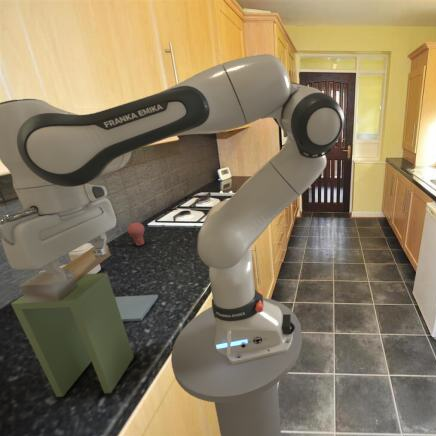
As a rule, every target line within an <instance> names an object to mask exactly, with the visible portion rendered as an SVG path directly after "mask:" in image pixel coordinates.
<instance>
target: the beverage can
mask: <svg viewBox="0 0 436 436" xmlns="http://www.w3.org/2000/svg"><path fill="white" fill-rule="evenodd" d="M94 246H95V245H93V244H92V243H90V242H87V243H85V244H84V245H82V246H80V247H78V248H76V249H75V250H73V251H71V252H69V253H68V256H69V259H70V262H71V261H73V260H74V259H76V258H77V257H79V256H80V255H82V254H83V253H85V252H86V251H88V250H89V249H91V248H92V247H94ZM101 270H102V267H101V263H100V264H99V265H97V266H96V267H95V268H93V269H92V270H91V271H90V272H88V273H87V274H97V273H99V272H100V271H101Z"/></svg>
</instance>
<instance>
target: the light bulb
mask: <svg viewBox="0 0 436 436" xmlns="http://www.w3.org/2000/svg"><path fill="white" fill-rule="evenodd" d="M145 231H146V229H145V225H143V223H141V222H133V223H130V224H129V225H128V226H127V233H128V235H129V236H130V237H131V238H132V239H133V241H134V242H135V245H136V246H143V245H145V239H144V235H145Z"/></svg>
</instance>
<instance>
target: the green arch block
mask: <svg viewBox="0 0 436 436" xmlns="http://www.w3.org/2000/svg"><path fill="white" fill-rule="evenodd" d="M76 283H77V287H76V288H75V289H74V290H72V291H71V292H70V293H69V294H67V295H66V296H65V297H64V298H62V299H61V300H60V301H51V302H32V303H27V302H26V299H25V297H24V295H23V294H22V296H20V297H19V298H17V299H15V300H14V301H12V302H11V303H10V305H11V307H12V309H13V311H14V313H15V315H16V318H17V319H18V321H19V323H20V326H21V328H22V330H23V332H24V334H25V336H26V337H27V340H28V342H29V345H30V346H31V348H32V350H33V352H34V354H35V356H36V359H37V360H38V362H39V364H40V366H41V368H42V371H43V372H44V374H45V376H46V378H47V380H48V382H49V385H50V387H51V388H52V390H53V393H54V394H55V396H56V398H61V397H65V396H66V394H67V393H68V391H69V390H70V389H71V388H72V386H73V385H74V384H75V382H76V381H77V380H78V379H79V378H80V376H81V375H82V374H83V373H84V371H85V370H86V369H87V368H88V366H90V364H92V366H93V368H94V371H95V374H96V376H97V378H98V381H99V383H100V386H101V389H102V391H103V394H112V393H113V391H114V390H115V388H116V387H117V385H118V383H119V381H120V380H121V378H122V377H123V375H124V373H125V372H126V370H127V369H128V368H129V366H130V364H131V362H132V361H133V359H134V358H135V356H134V352H133V349H132V346H131V343H130V341H129V338H128V334H127V330H126V328H125V325H124V322H123V321H122V318H121V315H120V312H119V309H118V306H117V303H116V300H115V297H116V296H115V294H114V291H113V288H112V287H113V286H112V284H111V282H110V278H109V275H108V273H107V272H100V273H99V272H97V273H96V274H86V275H85V276H83V277H82V278H81V279H79V280H78V281H77V282H76Z"/></svg>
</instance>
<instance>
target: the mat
mask: <svg viewBox="0 0 436 436" xmlns="http://www.w3.org/2000/svg"><path fill="white" fill-rule="evenodd" d="M114 297H115V300H116V303H117V306H118V309H119V312H120V315H121V318H122V321H123V323H127V322H141V321H143V319H144V318H145V316H146V315H147V314H148V312H149V311H150V309H151V308H152V307H153V305H154V304H155V302H156V301H157V299H158V298H159V294H145V295H126V296H125V295H124V296H114Z"/></svg>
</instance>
